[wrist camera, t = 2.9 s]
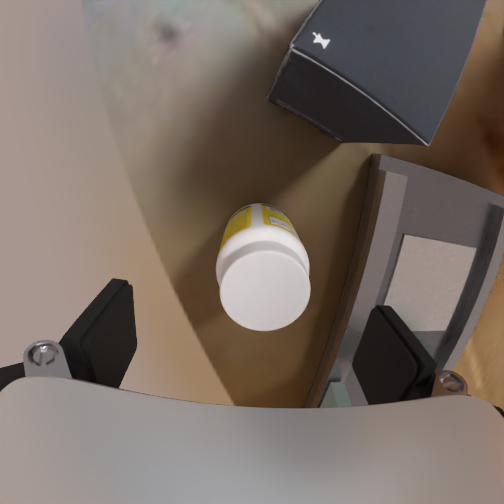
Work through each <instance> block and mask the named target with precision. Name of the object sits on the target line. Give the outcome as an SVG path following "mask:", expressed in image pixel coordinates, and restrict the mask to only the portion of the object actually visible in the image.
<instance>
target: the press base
mask: <svg viewBox="0 0 504 504" xmlns="http://www.w3.org/2000/svg"><path fill="white" fill-rule="evenodd" d="M503 254H504V196H501V195H499V194H497V193H494V192H492V191H490V190H487V189H485V188H482V187H480V186H477V185H475V184H472V183H470V182H467V181H464V180H462V179H459V178H456V177H453V176H450V175H448V174H445V173H442V172H439V171H436V170H433V169H430V168H427V167H423V166H420V165H417V164H414V163H410V162H407V161H403V160H400V159H396V158H393V157H389V156H385V155H382V154H372V161H371V167H370V173H369V178H368V184H367V189H366V195H365V200H364V205H363V210H362V215H361V219H360V224H359V228H358V233H357V237H356V242H355V246H354V250H353V254H352V258H351V262H350V266H349V270H348V274H347V278H346V281H345V285H344V289H343V292H342V296H341V299H340V303H339V306H338V310H337V313H336V316H335V319H334V323H333V326H332V329H331V332H330V335H329V339H328V342H327V345H326V348H325V351H324V354H323V357H322V360H321V362H320V365H319V368H318V371H317V374H316V376H315V379H314V382H313V385H312V387H311V390H310V393H309V395H308V398H307V400H306V403H305V406H304V408H320V406H321V404H322V401H323V399H324V397H325V395H326V392H327V390H328V387H329V385H330V383H331V382H344V384H345V387H346V389H347V392H348V395H349V398H350V401H351V404H352V406H364V405H368V402H367V400H366V398H365V395H364V393H363V391H362V389H361V386H360V384H359V382H358V379H357V377H356V375H355V373H354V370H353V368H352V361H353V358H354V355H355V353H356V350H357V348H358V345H359V342H360V340H361V337H362V334H363V331H364V329H365V326H366V323H367V320H368V317H369V314H370V311H371V310H372V309H373V308H375V307H376V306H377V305H389V306H391V307H392V308H393V309H394V311H395V312H396V313H397V314H398V315H399V317H400V318H401V319H402V320H403V321H404V323H405V324H406V325H407V326H408V328H409V329H410V330H411V331H412V333H413V334H414V335H415V336H416V338H417V339H418V340H419V341H420V343H421V344H422V345H423V347H424V348H425V349H426V350H427V352H428V353H429V354H430V356H431V357H432V358H433V360H434V361H435V362H436V364H437V367H436V369H435V371H434V372H435V373H436V374H437V373H438V372H439V371H442V370H449V371H452V370H453V368H454V366H455V365H456V363H457V361H458V359H459V357H460V356H461V354H462V352H463V350H464V348H465V346H466V344H467V342H468V340H469V338H470V336H471V334H472V332H473V330H474V328H475V326H476V324H477V322H478V320H479V317H480V315H481V313H482V311H483V308H484V306H485V303H486V301H487V299H488V296H489V294H490V291H491V289H492V286H493V283H494V280H495V278H496V275H497V272H498V269H499V266H500V263H501V260H502V257H503Z"/></svg>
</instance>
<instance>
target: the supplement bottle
mask: <svg viewBox="0 0 504 504" xmlns="http://www.w3.org/2000/svg"><path fill="white" fill-rule="evenodd" d="M216 276H217V281H218V284H219V286H220V300H221V303H222V306H223V308H224V310H225V311H226V313H227V314H228V315H229V317H230V318H231V319H233V320H234V321H235V322H236V323H238V324H239V325H241V326H243V327H245V328H248V329H251V330H256V331H271V330H276V329H280V328H283V327H285V326H287V325H289V324H290V323H292V322H293V321H295V320H296V319H297V318H298V317H299V316H300V315H301V314H302V313H303V311H304V310H305V308H306V306H307V304H308V301H309V297H310V281H309V260H308V256H307V253H306V250H305V248H304V246H303V244H302V242H301V241H300V239H299V237H298V235H297V233H296V231H295V229H294V227H293V226H292V223H291V222H290V220H289V218H288V217H287V216H286V215H285V214H284V213H283V212H282V211H281V210H280V209H278V208H276V207H274V206H272V205H269V204H263V203H256V204H251V205H247V206H245V207H243V208H241V209H239V210H238V211H237V212H235V213H234V214H233V215H232V217H231V218H230V219H229V221H228V223H227V225H226V228H225V231H224V235H223V239H222V243H221V246H220V250H219V254H218V257H217V262H216Z"/></svg>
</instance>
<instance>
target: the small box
mask: <svg viewBox="0 0 504 504" xmlns="http://www.w3.org/2000/svg"><path fill="white" fill-rule="evenodd" d="M486 1H487V0H319V2H318V3H317V4H316V6H315V7H314V8H313V10H312V11H311V13H310V14H309V16H308V17H307V18H306V20H305V21H304V23H303V24H302V26H301V27H300V28H299V30H298V31H297V33H296V34H295V36H294V37H293V39H292V40H291V42H290V44H289V45H288V48H287V50H286V52H285V55H284V57H283V59H282V62H281V64H280V67H279V69H278V71H277V73H276V77H275V80H274V82H273V83H272V86H271V87H270V89H269V91H268V93H267V95H266V96H267V99H268V101H271V102H272V103H274V104H276V105H279V106H282V107H284V108H285V110H289V111H291V112H292V113H294V114H296V115H298V116H299V117H301V118H303V119H304V120H306V121H308V122H309V123H310V124H312V125H314V126H315V127H317V128H319V129H320V131H322V132H324V133H325V134H327V135H329V136H331V137H332V138H335V139H336V140H338V141H339V142H341V143H351V142H352V143H359V142H360V143H392V144H414V145H422V146H429V145H430V144H431V142H432V140H433V138H434V136H435V134H436V132H437V130H438V128H439V125H440V123H441V121H442V119H443V117H444V115H445V113H446V111H447V108H448V106H449V104H450V101H451V99H452V97H453V94H454V92H455V90H456V87H457V85H458V82H459V80H460V77H461V75H462V72H463V70H464V67H465V64H466V62H467V59H468V56H469V54H470V51H471V48H472V45H473V43H474V40H475V37H476V34H477V31H478V28H479V24H480V21H481V18H482V15H483V11H484V8H485V5H486Z"/></svg>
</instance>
